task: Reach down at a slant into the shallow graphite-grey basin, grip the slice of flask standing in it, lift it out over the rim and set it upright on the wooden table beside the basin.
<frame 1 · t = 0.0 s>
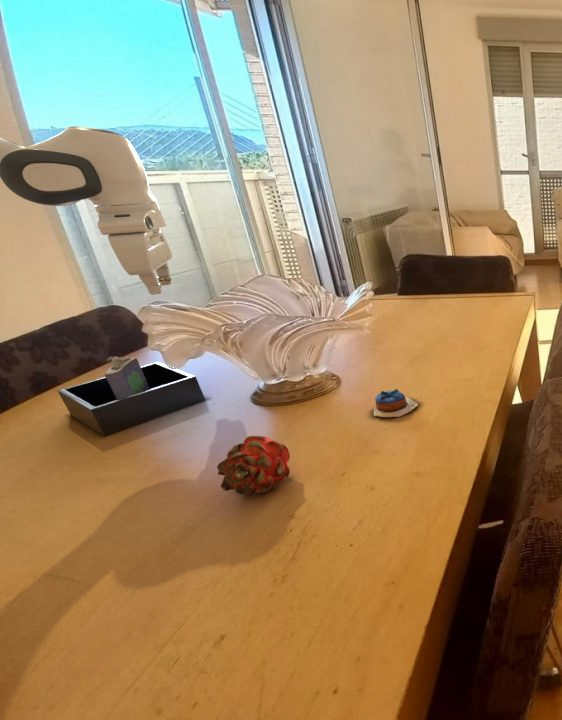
hand: (162, 288, 98), 22 cm above the table, tool pointing down, fingers open, 8 cm apart
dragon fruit: (263, 485, 72), on the table
flask: (139, 405, 96), resting in basin
dessert: (395, 409, 93), on the table
basin: (139, 407, 97), on the table
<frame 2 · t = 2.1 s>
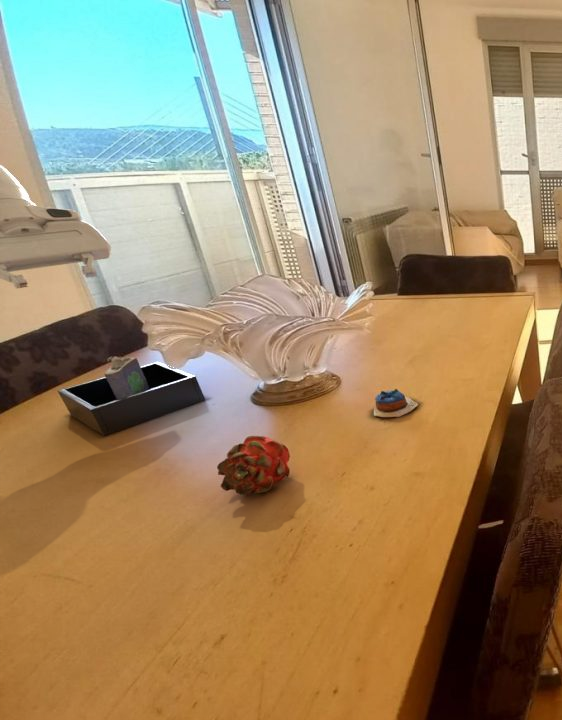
hand: (58, 280, 92), 25 cm above the table, tool tilted 45°, fingers open, 8 cm apart
nothing on the table moved.
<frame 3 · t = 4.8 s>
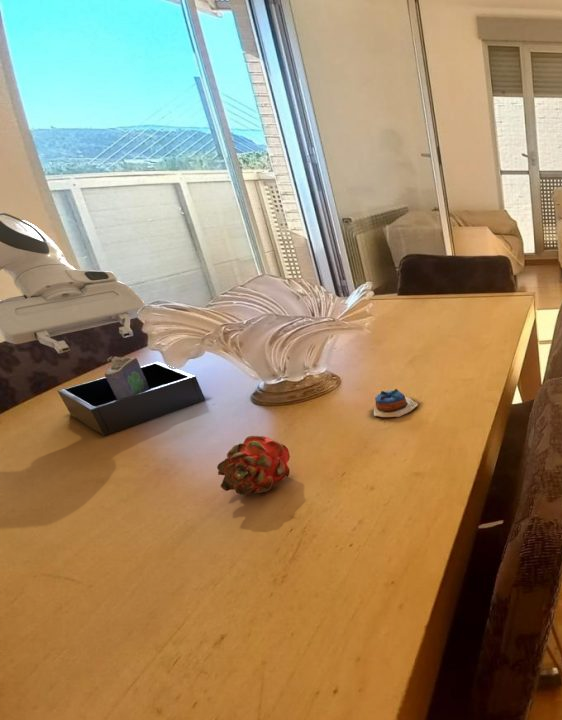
hand: (97, 342, 95), 13 cm above the table, tool tilted 45°, fingers open, 8 cm apart
nothing on the table moved.
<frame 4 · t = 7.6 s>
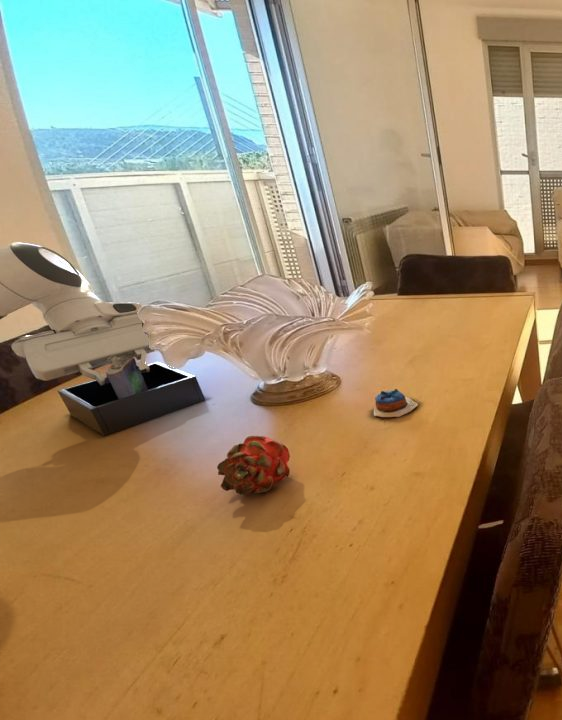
hand: (126, 376, 94), 7 cm above the table, tool tilted 45°, fingers closed on flask, 4 cm apart
flask: (138, 405, 96), resting in basin, touching gripper
everything else where it was.
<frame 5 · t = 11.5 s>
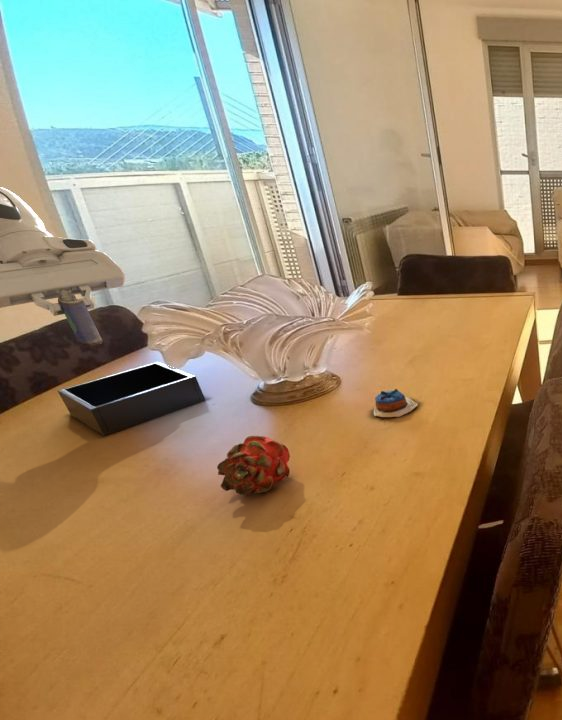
hand: (74, 310, 94), 19 cm above the table, tool tilted 45°, fingers closed on flask, 3 cm apart
flask: (90, 342, 97), point 12 cm above the table, touching gripper
everything else where it was.
when the fingers open (7 cm above the table, at t = 15.7 s): flask stays where it is, on the table.
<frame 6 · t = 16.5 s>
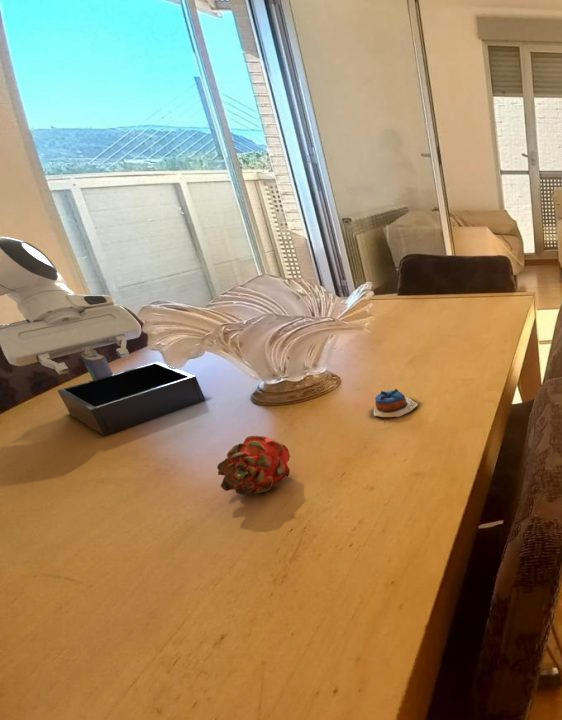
hand: (95, 363, 101), 7 cm above the table, tool tilted 45°, fingers open, 8 cm apart
flask: (110, 392, 104), on the table
everything else where it was.
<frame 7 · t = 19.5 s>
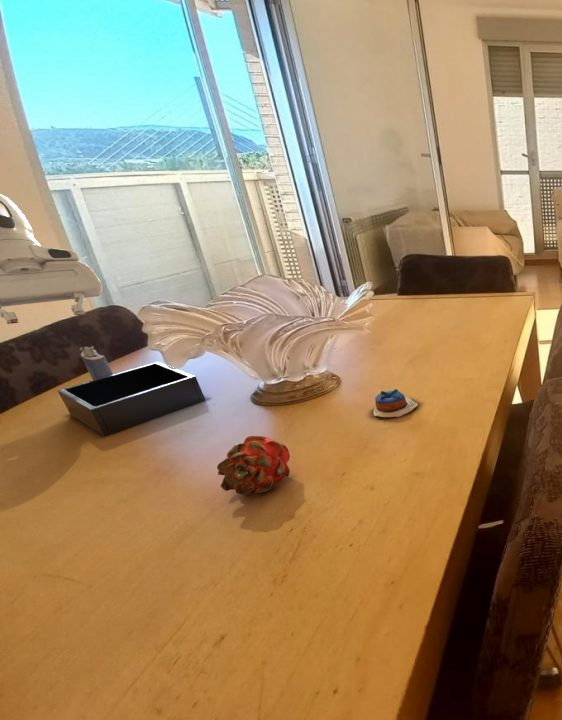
hand: (47, 317, 100), 16 cm above the table, tool tilted 40°, fingers open, 8 cm apart
nothing on the table moved.
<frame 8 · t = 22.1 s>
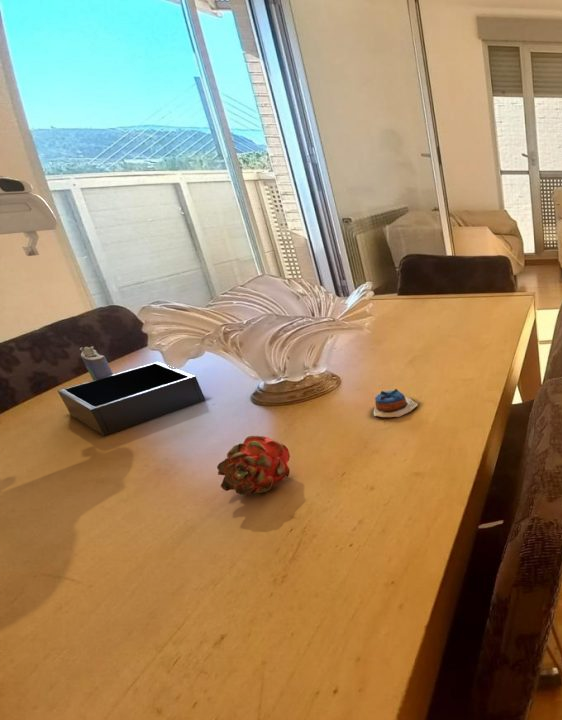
nothing on the table moved.
at the end: flask inside the target area (0.3 cm from its centre), on the table; flask tilted 0°; the gripper is holding nothing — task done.
